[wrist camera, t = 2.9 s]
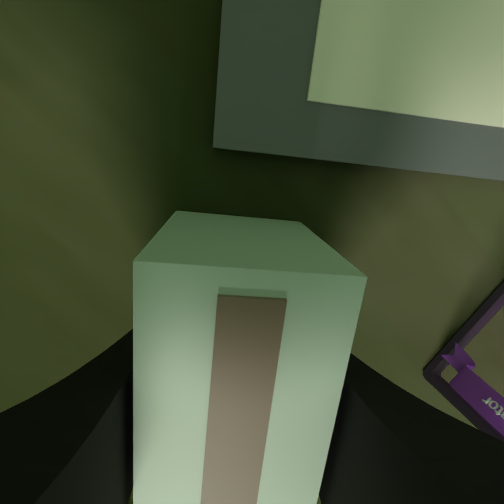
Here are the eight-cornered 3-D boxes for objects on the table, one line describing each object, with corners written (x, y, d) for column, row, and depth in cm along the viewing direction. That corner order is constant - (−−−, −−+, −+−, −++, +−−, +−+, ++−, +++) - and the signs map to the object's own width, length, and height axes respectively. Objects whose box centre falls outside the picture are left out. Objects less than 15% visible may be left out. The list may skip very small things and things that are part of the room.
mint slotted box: (299, 221, 10) (370, 279, 5) (270, 417, 12) (300, 581, 8) (176, 210, 10) (130, 262, 5) (168, 415, 12) (132, 590, 7)
